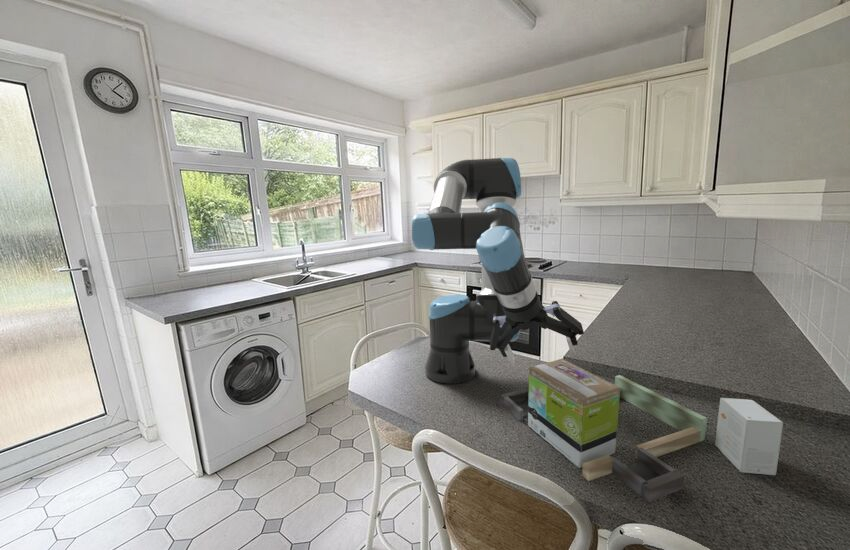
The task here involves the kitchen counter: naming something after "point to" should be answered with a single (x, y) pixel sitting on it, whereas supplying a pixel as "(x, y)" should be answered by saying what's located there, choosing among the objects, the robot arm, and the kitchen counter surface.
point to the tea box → (573, 410)
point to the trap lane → (649, 472)
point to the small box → (748, 436)
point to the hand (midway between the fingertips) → (542, 357)
